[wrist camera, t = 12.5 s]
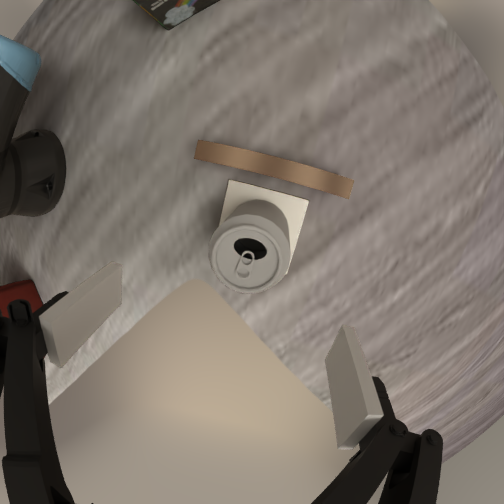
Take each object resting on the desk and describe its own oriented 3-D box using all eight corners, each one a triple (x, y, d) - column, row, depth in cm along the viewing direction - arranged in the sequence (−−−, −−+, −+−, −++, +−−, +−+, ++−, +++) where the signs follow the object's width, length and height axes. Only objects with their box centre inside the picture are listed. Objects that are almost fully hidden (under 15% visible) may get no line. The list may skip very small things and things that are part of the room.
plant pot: (72, 345, 48) (27, 393, 32) (30, 342, 51) (-8, 378, 35) (35, 262, 42) (-25, 298, 26) (-1, 274, 45) (-48, 302, 30)
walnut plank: (210, 158, 33) (193, 158, 27) (214, 143, 33) (198, 139, 26) (335, 191, 33) (348, 199, 26) (340, 176, 32) (354, 180, 26)
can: (296, 208, 34) (302, 233, 22) (278, 263, 36) (276, 310, 25) (236, 191, 34) (213, 207, 22) (223, 247, 36) (196, 287, 25)
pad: (213, 253, 37) (212, 254, 37) (230, 179, 34) (229, 179, 33) (286, 272, 37) (286, 274, 36) (308, 200, 34) (309, 200, 33)
